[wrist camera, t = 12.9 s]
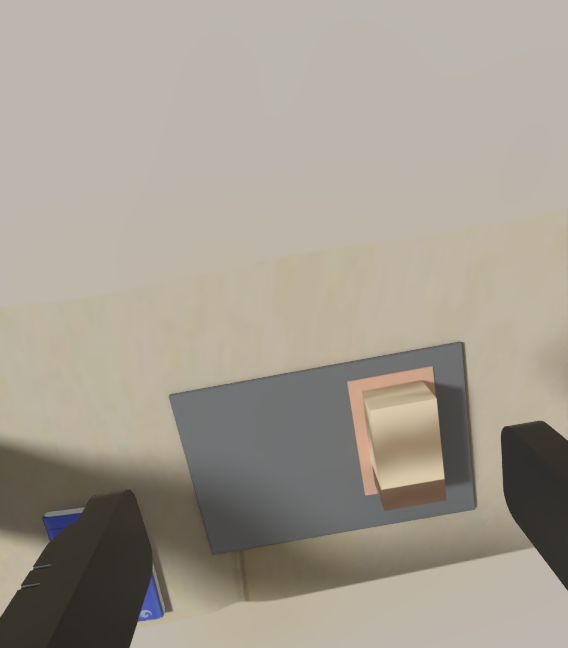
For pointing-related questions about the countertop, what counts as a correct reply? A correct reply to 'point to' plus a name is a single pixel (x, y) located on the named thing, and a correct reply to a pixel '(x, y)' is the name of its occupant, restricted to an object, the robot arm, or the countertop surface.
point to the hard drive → (153, 598)
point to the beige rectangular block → (405, 444)
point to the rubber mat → (312, 449)
